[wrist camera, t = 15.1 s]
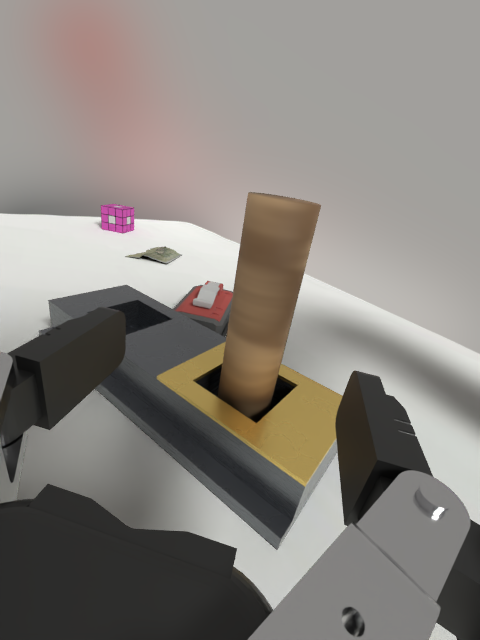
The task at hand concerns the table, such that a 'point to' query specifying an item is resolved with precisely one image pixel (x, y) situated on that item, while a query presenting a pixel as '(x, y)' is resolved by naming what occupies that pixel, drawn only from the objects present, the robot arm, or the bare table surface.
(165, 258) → the topographic map
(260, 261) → the walnut peg
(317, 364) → the table surface
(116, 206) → the puzzle toy
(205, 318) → the walkie-talkie
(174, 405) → the socket rail
